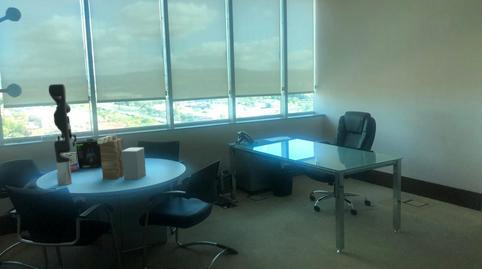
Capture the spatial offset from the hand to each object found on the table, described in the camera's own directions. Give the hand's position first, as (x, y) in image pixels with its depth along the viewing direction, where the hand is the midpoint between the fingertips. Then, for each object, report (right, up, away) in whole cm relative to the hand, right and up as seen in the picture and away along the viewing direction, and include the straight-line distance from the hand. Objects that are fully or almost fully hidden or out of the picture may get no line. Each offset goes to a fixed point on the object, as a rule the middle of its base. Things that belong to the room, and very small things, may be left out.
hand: (68, 146), depth 321 cm
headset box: (+11, -19, +25) cm, 33 cm away
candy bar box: (-2, -22, +9) cm, 24 cm away
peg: (+42, +5, -25) cm, 49 cm away
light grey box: (+62, -23, -18) cm, 68 cm away
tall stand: (+44, -24, -15) cm, 52 cm away
